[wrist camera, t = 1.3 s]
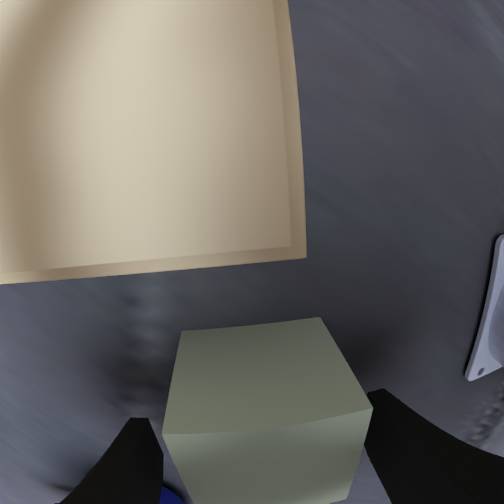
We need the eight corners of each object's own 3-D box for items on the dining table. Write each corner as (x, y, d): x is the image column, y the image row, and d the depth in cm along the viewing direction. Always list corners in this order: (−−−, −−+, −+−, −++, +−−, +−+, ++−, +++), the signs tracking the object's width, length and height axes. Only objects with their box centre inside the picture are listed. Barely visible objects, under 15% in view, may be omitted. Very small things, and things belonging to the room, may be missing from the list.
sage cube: (319, 315, 11) (373, 407, 6) (314, 410, 13) (346, 499, 8) (181, 329, 11) (161, 433, 6) (203, 423, 12) (200, 517, 8)
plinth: (261, -83, 6) (269, -120, 4) (291, 239, 10) (311, 264, 8) (-22, -2, 6) (-51, -16, 3) (-23, 270, 9) (-58, 292, 7)
